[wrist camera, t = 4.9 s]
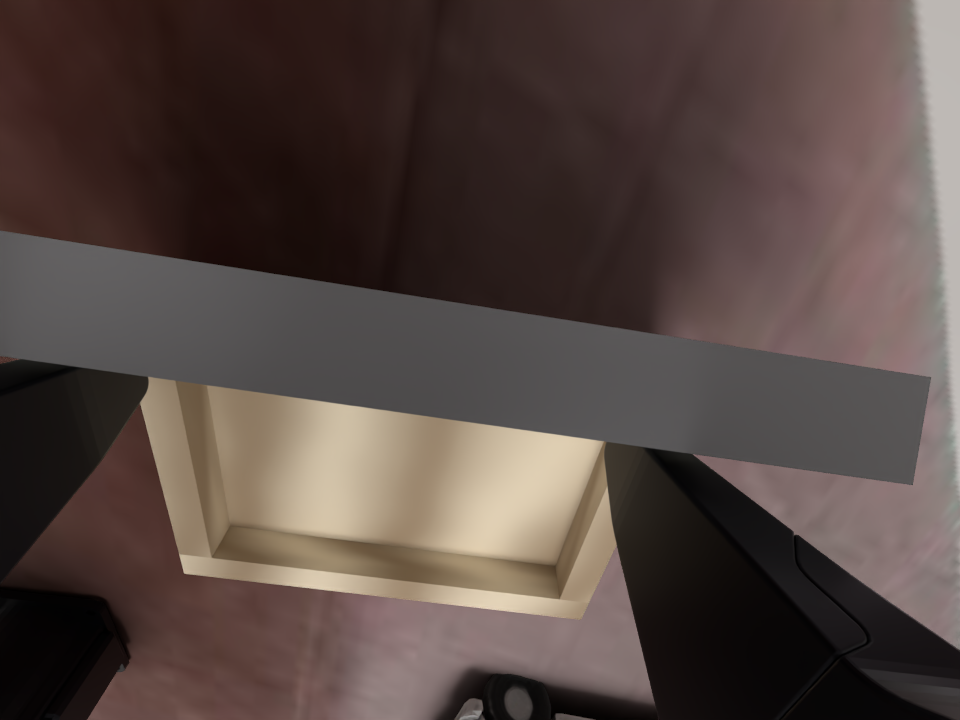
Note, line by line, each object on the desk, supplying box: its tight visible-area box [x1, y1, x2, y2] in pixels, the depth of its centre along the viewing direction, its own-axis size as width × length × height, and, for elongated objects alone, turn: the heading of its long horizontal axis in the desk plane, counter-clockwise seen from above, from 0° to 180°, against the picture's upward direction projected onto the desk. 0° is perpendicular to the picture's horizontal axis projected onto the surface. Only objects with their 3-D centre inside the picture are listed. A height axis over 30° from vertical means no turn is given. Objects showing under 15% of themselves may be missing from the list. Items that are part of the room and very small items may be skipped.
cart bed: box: [140, 377, 617, 620], centre depth 18 cm, size 16×10×3 cm, turn 81°
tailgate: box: [0, 231, 931, 485], centre depth 11 cm, size 16×2×8 cm
